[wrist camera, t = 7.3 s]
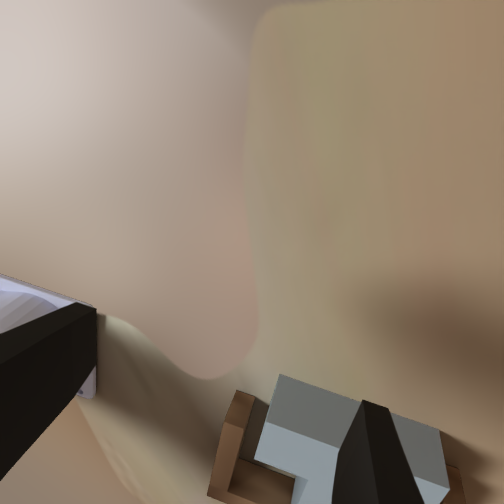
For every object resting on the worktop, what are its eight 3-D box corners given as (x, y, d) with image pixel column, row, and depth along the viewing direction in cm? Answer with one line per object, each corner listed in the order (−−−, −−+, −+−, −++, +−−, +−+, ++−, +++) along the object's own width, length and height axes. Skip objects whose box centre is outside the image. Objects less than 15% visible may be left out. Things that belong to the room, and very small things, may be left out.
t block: (252, 460, 27) (237, 511, 24) (279, 373, 23) (265, 421, 20) (386, 511, 25) (388, 573, 22) (438, 429, 22) (449, 489, 19)
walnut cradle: (219, 462, 28) (206, 495, 26) (236, 390, 24) (223, 421, 22) (410, 536, 26) (414, 578, 24) (458, 469, 22) (467, 511, 20)
